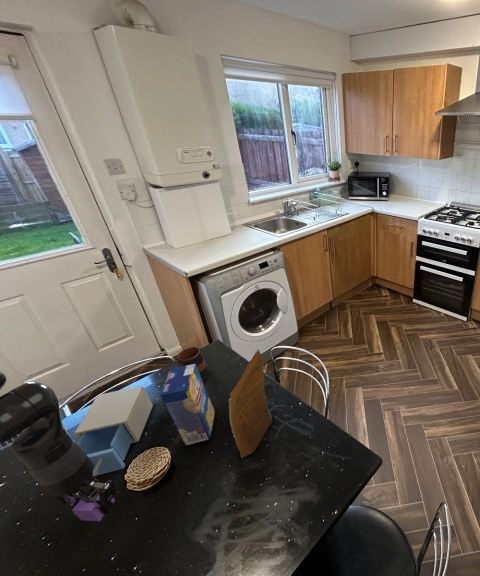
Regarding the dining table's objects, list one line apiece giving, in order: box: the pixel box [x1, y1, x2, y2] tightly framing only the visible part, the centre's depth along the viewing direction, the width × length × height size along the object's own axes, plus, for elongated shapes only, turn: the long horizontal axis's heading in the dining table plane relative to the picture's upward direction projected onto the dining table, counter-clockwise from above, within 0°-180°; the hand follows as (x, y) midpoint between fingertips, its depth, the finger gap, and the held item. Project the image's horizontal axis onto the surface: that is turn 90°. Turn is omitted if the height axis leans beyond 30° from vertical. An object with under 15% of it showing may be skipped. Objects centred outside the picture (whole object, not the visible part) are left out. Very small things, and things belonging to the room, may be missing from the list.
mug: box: [174, 346, 210, 382], centre depth 116 cm, size 9×12×12 cm
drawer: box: [76, 424, 133, 477], centre depth 88 cm, size 18×11×8 cm, turn 18°
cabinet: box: [74, 385, 154, 444], centre depth 98 cm, size 15×13×10 cm
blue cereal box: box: [159, 363, 216, 446], centre depth 95 cm, size 7×11×22 cm, turn 19°
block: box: [71, 493, 116, 522], centre depth 71 cm, size 4×4×4 cm
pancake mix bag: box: [228, 348, 273, 459], centre depth 92 cm, size 7×19×28 cm, turn 169°
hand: (97, 509), depth 72 cm, fingers closed on block, 4 cm apart
